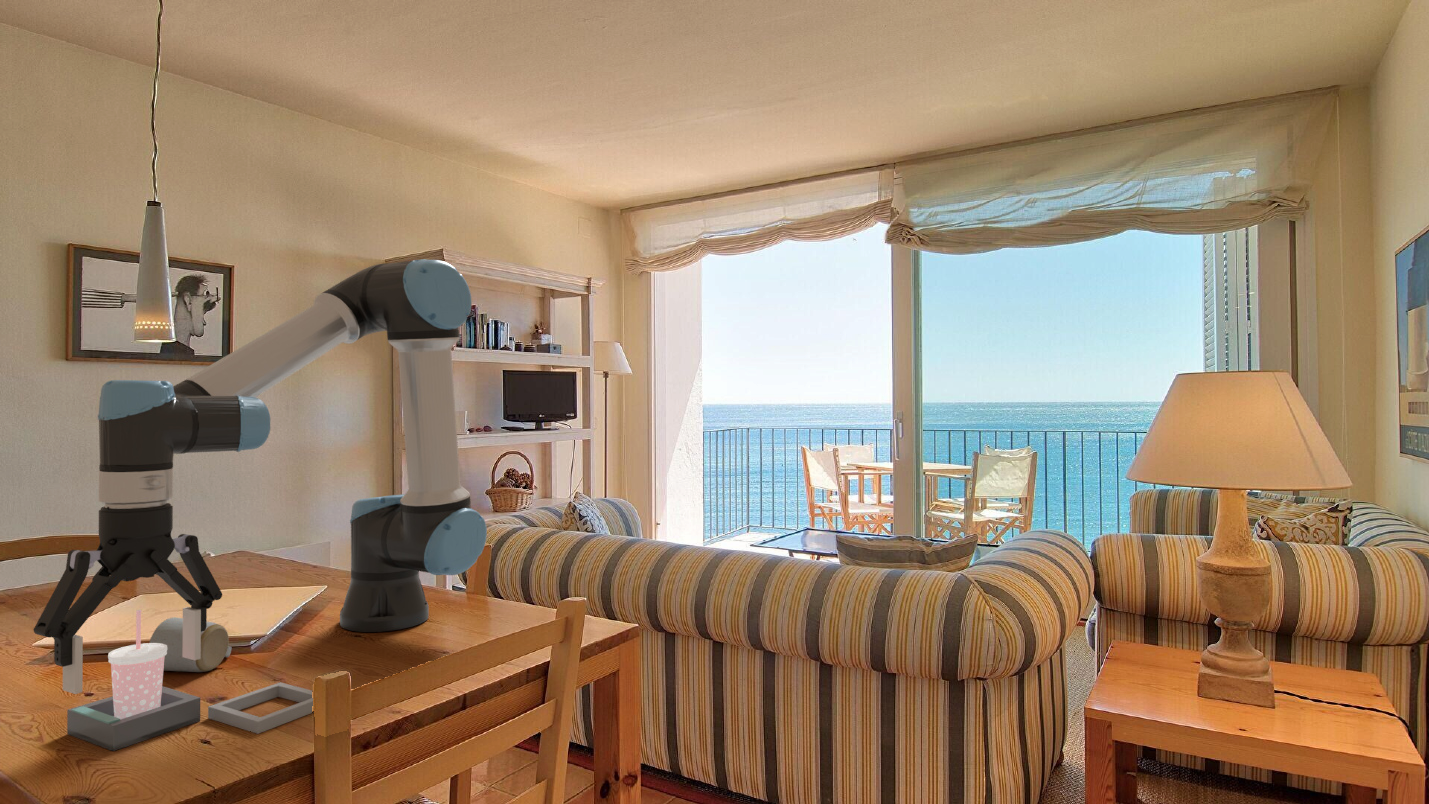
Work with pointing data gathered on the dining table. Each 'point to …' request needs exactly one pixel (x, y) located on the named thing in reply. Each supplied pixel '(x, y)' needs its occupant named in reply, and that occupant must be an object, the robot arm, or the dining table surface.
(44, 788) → the dining table surface
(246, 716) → the gray rectangular frame
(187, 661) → the ceramic mug
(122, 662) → the beverage cup
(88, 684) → the dining table surface
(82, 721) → the dark gray open tray
